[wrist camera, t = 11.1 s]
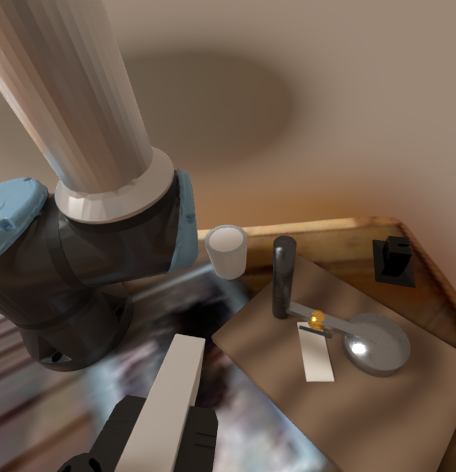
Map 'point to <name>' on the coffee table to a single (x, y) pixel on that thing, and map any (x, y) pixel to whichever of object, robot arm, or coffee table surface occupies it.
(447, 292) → the coffee table surface
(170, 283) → the coffee table surface
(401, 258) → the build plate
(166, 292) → the coffee table surface
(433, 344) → the crank stand
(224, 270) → the shot glass
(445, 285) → the coffee table surface
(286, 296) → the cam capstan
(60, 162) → the robot arm
